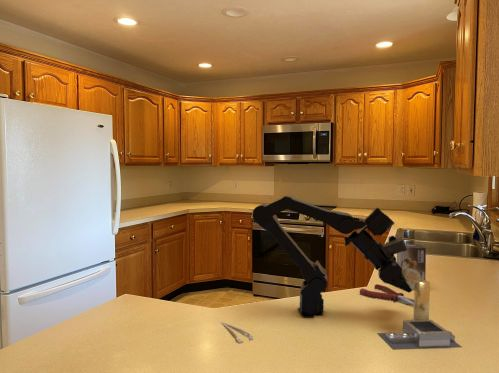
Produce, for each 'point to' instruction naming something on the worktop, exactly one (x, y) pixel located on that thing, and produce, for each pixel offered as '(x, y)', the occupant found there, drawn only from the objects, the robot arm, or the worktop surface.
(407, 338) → the grey framed plate
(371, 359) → the worktop surface
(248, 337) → the tweezers
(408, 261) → the coffee box
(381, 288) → the pliers
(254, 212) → the robot arm
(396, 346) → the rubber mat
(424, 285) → the amber cylinder
